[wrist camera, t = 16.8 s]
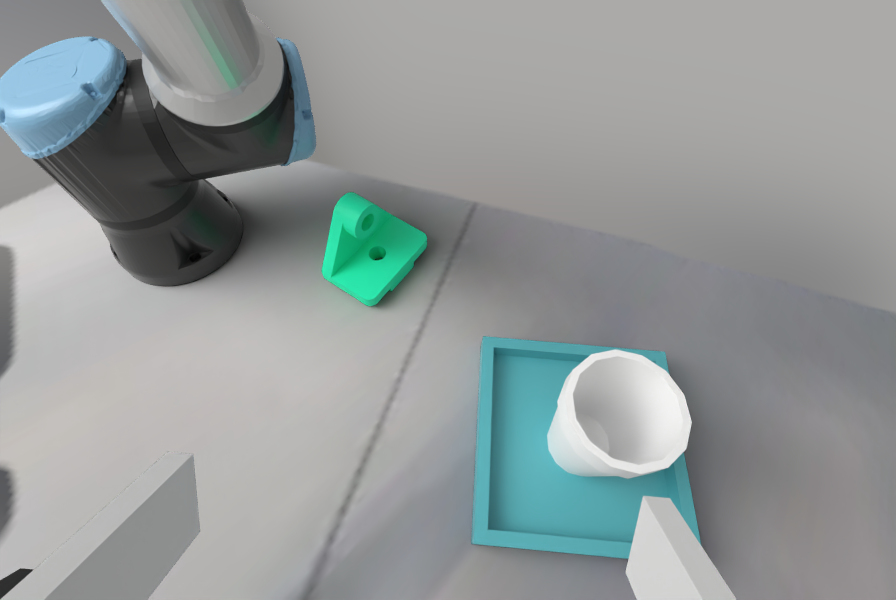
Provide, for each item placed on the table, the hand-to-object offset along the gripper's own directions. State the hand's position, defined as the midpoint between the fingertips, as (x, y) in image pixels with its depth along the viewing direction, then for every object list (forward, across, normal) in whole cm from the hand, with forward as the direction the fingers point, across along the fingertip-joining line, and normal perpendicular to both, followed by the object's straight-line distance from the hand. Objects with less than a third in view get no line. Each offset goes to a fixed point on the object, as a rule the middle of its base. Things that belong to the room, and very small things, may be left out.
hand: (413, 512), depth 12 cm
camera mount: (+44, -10, -1) cm, 45 cm away
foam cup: (+28, +14, -15) cm, 35 cm away
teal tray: (+29, +14, -16) cm, 36 cm away
